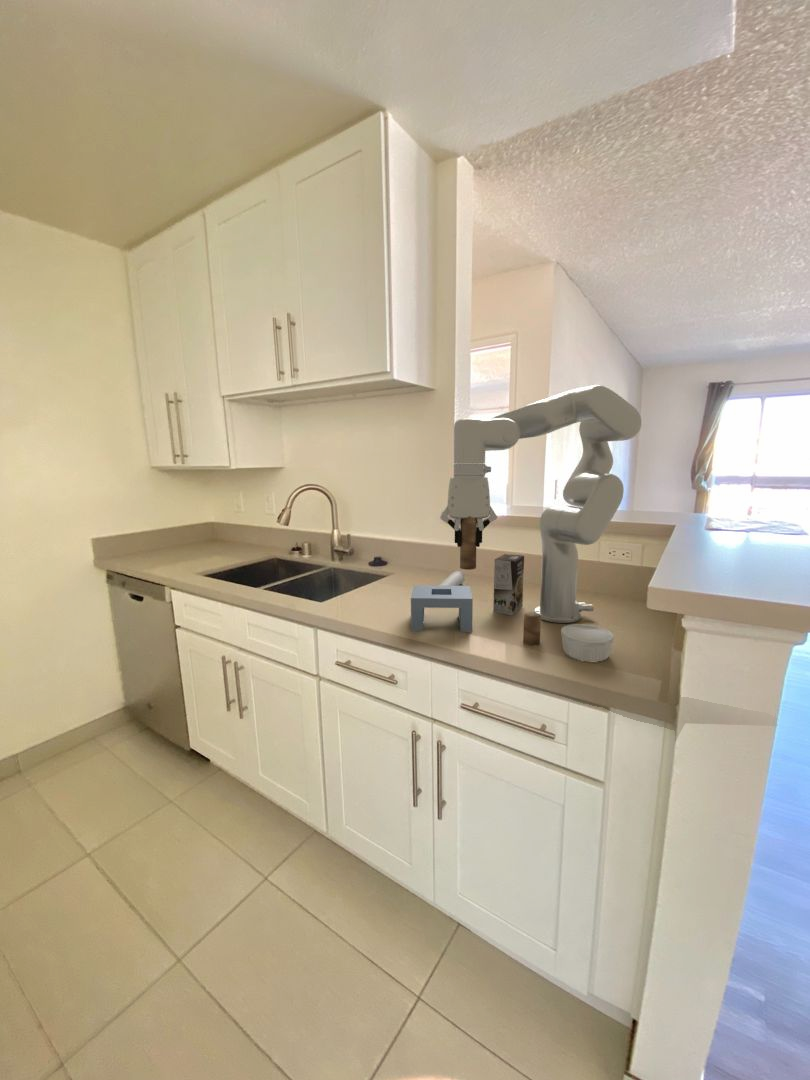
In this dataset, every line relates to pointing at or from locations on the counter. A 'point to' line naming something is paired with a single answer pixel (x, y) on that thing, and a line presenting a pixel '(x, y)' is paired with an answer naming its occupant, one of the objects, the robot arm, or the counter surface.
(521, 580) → the coffee box
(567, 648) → the ramekin
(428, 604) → the bridge
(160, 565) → the counter surface
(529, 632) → the short pin
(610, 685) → the counter surface
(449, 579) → the tube
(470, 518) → the tall pin
